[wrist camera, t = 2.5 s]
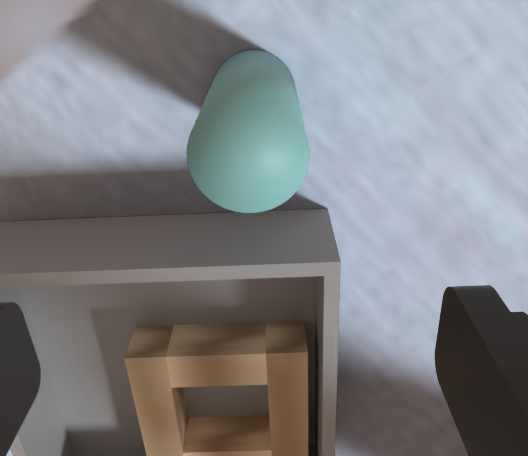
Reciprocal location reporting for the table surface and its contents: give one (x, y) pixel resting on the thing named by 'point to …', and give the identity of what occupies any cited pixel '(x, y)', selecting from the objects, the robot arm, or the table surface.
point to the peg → (249, 135)
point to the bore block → (220, 374)
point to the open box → (163, 313)
